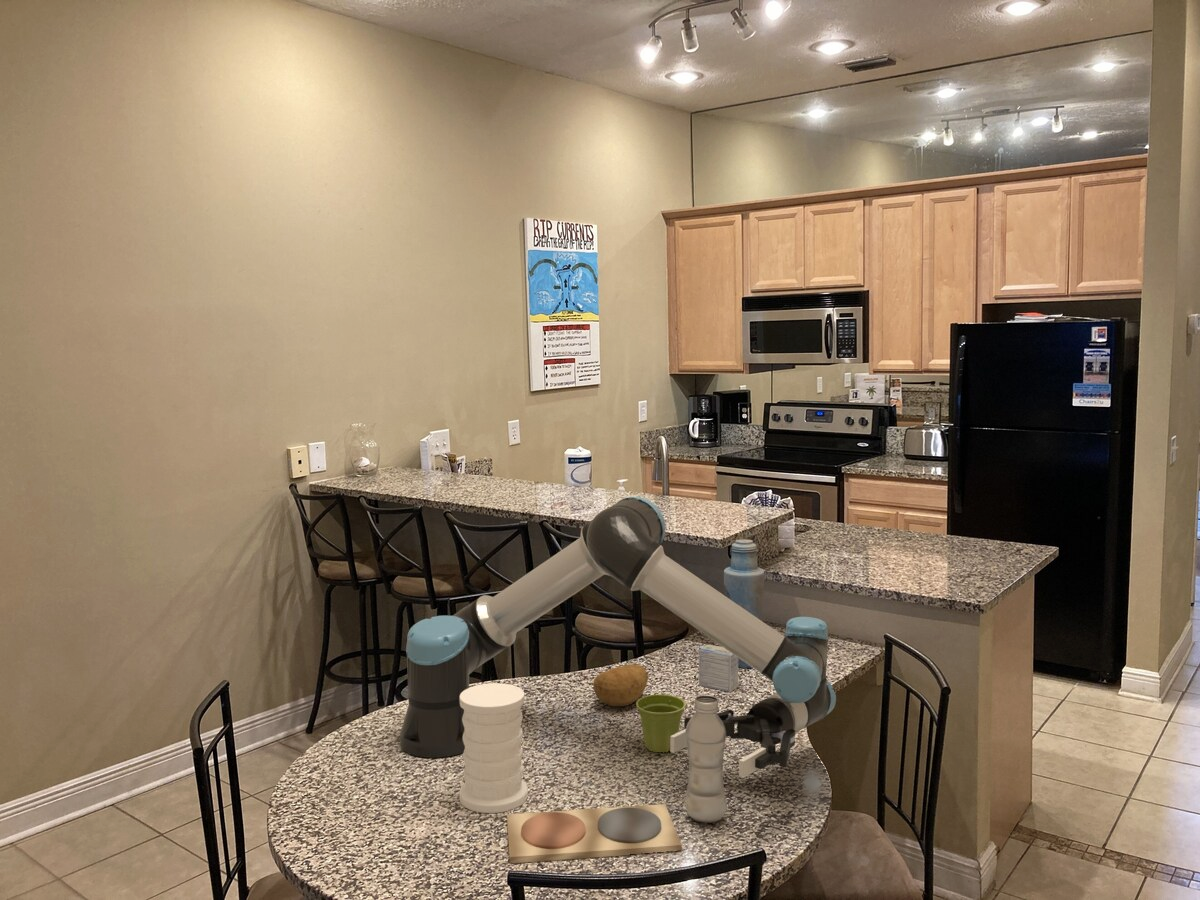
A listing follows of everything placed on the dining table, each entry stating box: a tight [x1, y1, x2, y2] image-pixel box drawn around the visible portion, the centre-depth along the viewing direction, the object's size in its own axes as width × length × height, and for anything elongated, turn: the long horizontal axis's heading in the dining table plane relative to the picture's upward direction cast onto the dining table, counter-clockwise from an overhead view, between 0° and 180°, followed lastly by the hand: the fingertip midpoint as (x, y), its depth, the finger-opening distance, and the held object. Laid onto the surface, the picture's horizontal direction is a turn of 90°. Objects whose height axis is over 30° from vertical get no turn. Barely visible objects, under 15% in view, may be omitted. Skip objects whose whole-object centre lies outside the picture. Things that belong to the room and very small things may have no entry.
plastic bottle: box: [685, 694, 728, 824], centre depth 153 cm, size 6×7×20 cm
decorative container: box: [459, 682, 529, 814], centre depth 161 cm, size 12×12×18 cm
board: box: [506, 803, 683, 864], centre depth 149 cm, size 26×13×2 cm, turn 97°
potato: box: [592, 663, 649, 707], centre depth 203 cm, size 10×14×8 cm
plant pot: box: [635, 693, 687, 754], centre depth 181 cm, size 9×9×9 cm
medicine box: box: [698, 644, 739, 693], centre depth 213 cm, size 8×4×9 cm, turn 58°
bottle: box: [723, 539, 766, 669], centre depth 228 cm, size 10×10×30 cm
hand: (705, 756), depth 152 cm, fingers open, 13 cm apart
